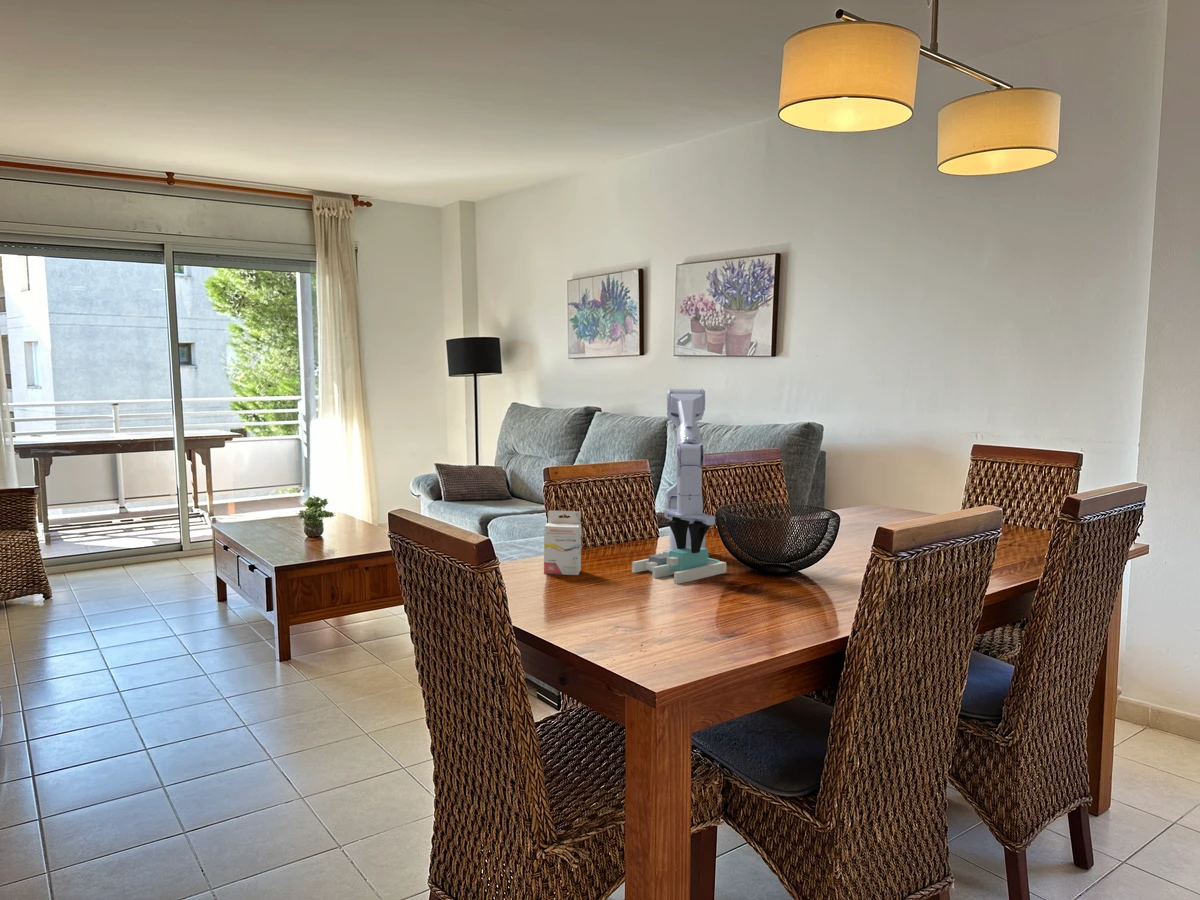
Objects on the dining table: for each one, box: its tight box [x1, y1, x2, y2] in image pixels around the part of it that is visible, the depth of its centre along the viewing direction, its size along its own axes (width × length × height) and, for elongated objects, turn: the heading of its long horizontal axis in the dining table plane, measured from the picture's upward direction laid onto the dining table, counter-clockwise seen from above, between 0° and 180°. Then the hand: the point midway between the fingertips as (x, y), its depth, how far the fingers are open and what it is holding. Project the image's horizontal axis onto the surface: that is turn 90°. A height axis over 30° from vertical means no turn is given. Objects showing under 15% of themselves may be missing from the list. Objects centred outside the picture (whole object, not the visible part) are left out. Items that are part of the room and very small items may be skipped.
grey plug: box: [646, 552, 670, 573], centre depth 201 cm, size 13×4×4 cm, turn 131°
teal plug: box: [667, 547, 710, 571], centre depth 196 cm, size 13×4×4 cm, turn 131°
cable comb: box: [631, 557, 727, 585], centre depth 199 cm, size 17×15×3 cm
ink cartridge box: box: [543, 510, 582, 576], centre depth 198 cm, size 9×5×15 cm, turn 84°
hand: (688, 551), depth 195 cm, fingers closed on teal plug, 4 cm apart
